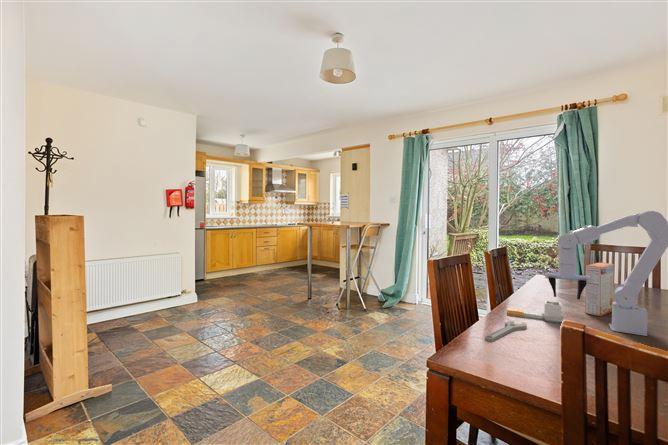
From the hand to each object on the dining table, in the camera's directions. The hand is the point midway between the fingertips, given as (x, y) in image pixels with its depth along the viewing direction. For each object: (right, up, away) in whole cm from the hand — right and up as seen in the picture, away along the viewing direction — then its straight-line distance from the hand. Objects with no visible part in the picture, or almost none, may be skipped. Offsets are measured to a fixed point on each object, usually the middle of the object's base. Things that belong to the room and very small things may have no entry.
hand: (566, 297), depth 131 cm
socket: (-6, -7, -1) cm, 9 cm away
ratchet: (-11, -9, +3) cm, 15 cm away
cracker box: (+21, -9, +10) cm, 25 cm away
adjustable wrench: (-32, -10, -13) cm, 36 cm away
